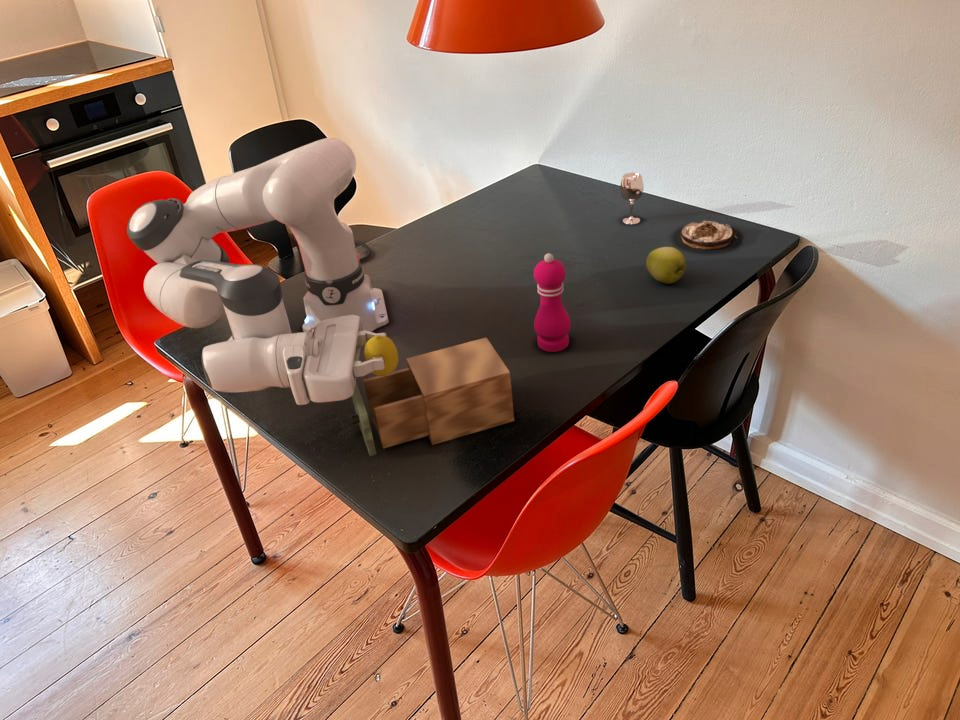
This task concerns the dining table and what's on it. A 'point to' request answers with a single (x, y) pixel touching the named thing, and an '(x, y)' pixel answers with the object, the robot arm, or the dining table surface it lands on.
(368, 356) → the lemon
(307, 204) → the robot arm
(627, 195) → the wineglass
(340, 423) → the dining table surface
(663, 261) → the apple
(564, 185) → the dining table surface
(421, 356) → the cabinet
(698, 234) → the mottled flat disc
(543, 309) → the pepper mill
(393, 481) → the dining table surface
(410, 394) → the drawer
